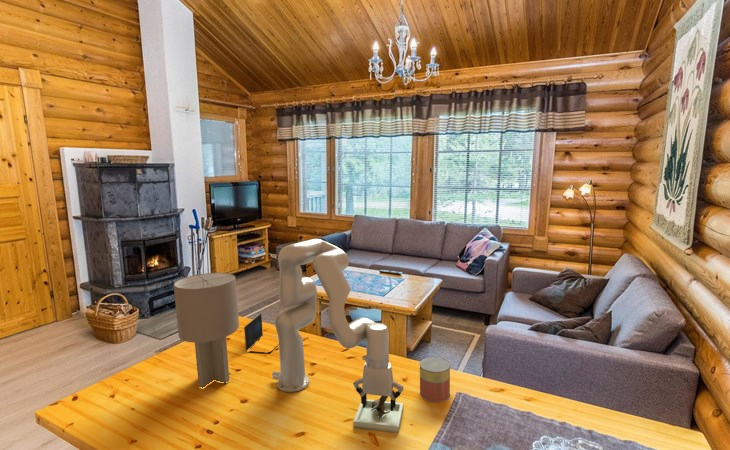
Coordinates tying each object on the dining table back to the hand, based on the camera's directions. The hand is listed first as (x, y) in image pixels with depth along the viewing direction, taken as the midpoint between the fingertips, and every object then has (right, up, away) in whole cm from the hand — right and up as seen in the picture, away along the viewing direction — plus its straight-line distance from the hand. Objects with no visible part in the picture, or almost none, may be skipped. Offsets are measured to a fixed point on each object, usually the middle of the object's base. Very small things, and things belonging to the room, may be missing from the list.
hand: (378, 407), depth 134 cm
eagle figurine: (+1, -2, +2) cm, 3 cm away
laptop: (-54, +3, +59) cm, 80 cm away
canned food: (+22, -2, +14) cm, 26 cm away
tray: (0, -4, 0) cm, 4 cm away
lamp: (-67, -2, +28) cm, 73 cm away
